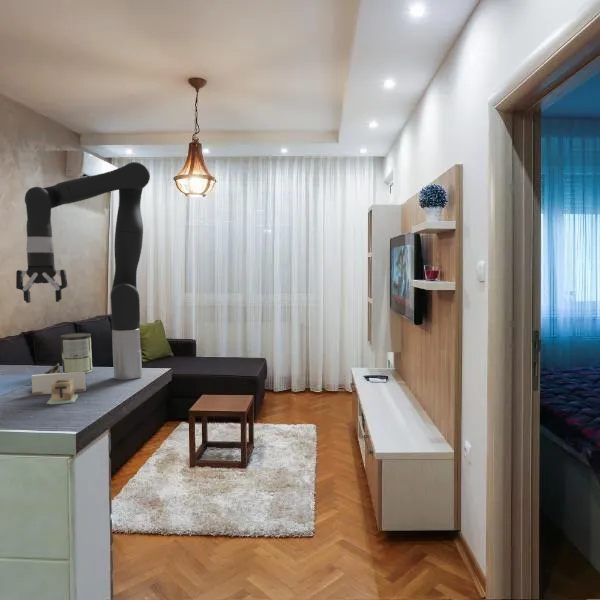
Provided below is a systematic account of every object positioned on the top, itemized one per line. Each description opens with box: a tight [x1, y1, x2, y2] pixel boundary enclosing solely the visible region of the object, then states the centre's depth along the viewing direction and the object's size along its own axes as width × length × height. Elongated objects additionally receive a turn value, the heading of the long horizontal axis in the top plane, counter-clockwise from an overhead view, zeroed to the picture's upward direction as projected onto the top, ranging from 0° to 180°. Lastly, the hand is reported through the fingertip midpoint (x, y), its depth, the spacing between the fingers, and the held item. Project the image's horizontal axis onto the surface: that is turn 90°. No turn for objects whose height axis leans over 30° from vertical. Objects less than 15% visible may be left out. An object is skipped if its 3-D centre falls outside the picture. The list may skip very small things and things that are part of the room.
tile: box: [46, 393, 79, 405], centre depth 138 cm, size 7×7×1 cm
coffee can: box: [60, 332, 93, 374], centre depth 175 cm, size 10×10×14 cm
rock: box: [43, 362, 61, 374], centre depth 153 cm, size 9×7×10 cm
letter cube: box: [51, 379, 75, 401], centre depth 138 cm, size 5×5×5 cm
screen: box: [31, 372, 87, 397], centre depth 147 cm, size 15×3×6 cm, turn 105°
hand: (43, 302), depth 150 cm, fingers open, 8 cm apart
